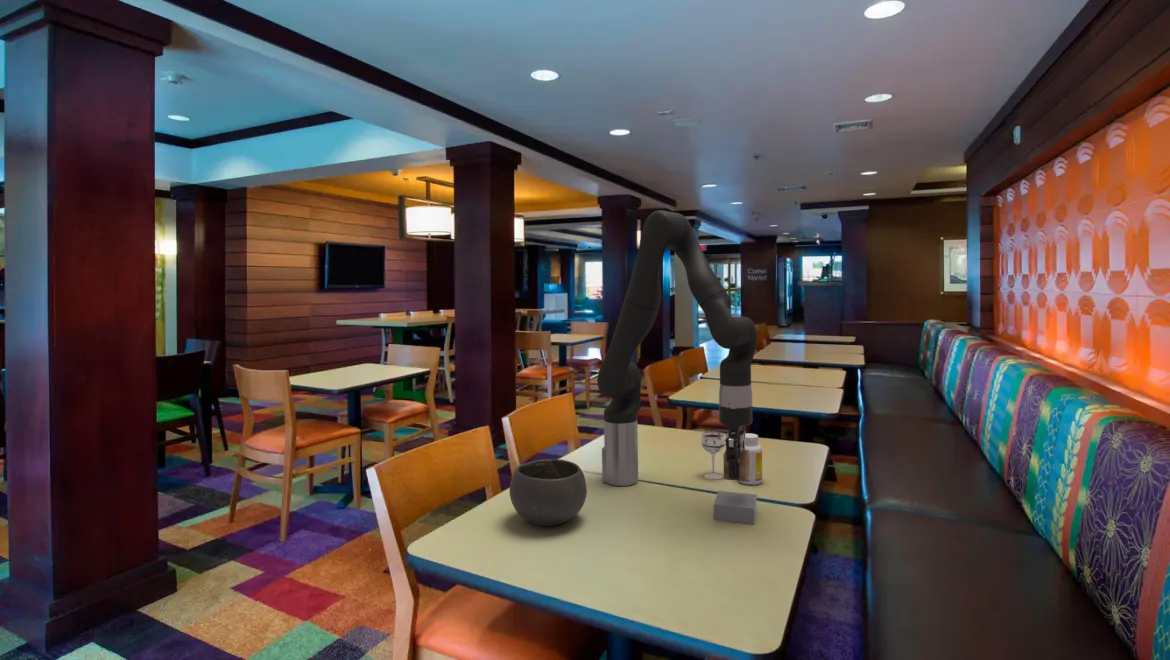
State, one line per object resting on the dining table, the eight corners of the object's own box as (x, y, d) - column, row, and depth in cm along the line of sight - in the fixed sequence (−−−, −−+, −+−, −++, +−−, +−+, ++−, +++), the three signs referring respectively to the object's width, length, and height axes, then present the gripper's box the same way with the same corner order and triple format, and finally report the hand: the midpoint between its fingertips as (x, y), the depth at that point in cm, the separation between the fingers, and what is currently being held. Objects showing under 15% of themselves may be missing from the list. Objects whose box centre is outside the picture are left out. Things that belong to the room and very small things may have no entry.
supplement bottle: (759, 477, 165) (759, 432, 164) (764, 485, 159) (764, 438, 158) (735, 477, 166) (735, 432, 165) (738, 485, 159) (738, 438, 158)
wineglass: (707, 470, 172) (706, 430, 171) (729, 475, 168) (729, 433, 167) (696, 477, 166) (696, 435, 165) (719, 482, 162) (719, 438, 161)
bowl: (543, 500, 152) (542, 452, 151) (602, 515, 141) (601, 463, 140) (494, 525, 137) (492, 471, 136) (556, 543, 127) (554, 486, 126)
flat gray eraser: (713, 521, 138) (713, 504, 137) (718, 506, 146) (718, 490, 146) (754, 525, 135) (754, 508, 134) (756, 510, 143) (756, 494, 143)
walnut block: (723, 479, 138) (723, 454, 138) (727, 472, 143) (727, 448, 142) (745, 481, 136) (745, 455, 136) (748, 474, 141) (748, 449, 140)
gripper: (724, 396, 146) (725, 464, 148) (713, 408, 133) (714, 482, 134) (756, 398, 143) (756, 467, 145) (747, 410, 130) (748, 486, 131)
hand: (736, 474), depth 140 cm, fingers closed on walnut block, 5 cm apart
